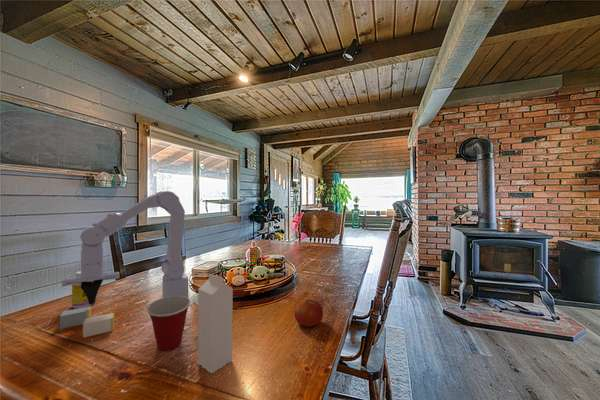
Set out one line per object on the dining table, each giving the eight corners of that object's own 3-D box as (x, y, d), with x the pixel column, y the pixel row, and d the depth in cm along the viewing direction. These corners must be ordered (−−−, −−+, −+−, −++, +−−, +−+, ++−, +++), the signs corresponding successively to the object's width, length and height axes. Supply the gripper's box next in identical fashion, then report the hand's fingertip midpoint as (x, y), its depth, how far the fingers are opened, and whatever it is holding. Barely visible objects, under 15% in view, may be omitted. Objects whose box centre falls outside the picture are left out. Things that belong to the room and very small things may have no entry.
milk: (218, 352, 65) (219, 270, 65) (232, 361, 61) (233, 275, 61) (197, 364, 60) (198, 276, 60) (211, 375, 57) (212, 281, 57)
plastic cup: (142, 363, 60) (142, 315, 60) (150, 339, 70) (150, 298, 70) (190, 352, 65) (190, 307, 65) (190, 331, 75) (191, 293, 75)
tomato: (290, 327, 78) (290, 302, 78) (300, 314, 86) (300, 292, 86) (317, 333, 74) (317, 308, 74) (325, 319, 83) (326, 296, 83)
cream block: (114, 312, 78) (85, 318, 74) (112, 317, 75) (83, 324, 71) (114, 325, 78) (85, 331, 74) (112, 330, 75) (82, 337, 71)
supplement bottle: (81, 309, 88) (81, 275, 88) (67, 308, 90) (67, 273, 90) (99, 302, 95) (99, 269, 95) (86, 300, 96) (86, 268, 96)
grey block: (91, 306, 83) (63, 311, 79) (89, 310, 80) (59, 316, 76) (91, 317, 83) (63, 323, 79) (89, 322, 80) (59, 328, 76)
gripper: (59, 269, 74) (59, 313, 74) (118, 262, 82) (118, 302, 82) (65, 263, 80) (65, 304, 80) (119, 258, 88) (119, 295, 88)
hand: (92, 303), depth 81 cm, fingers closed
